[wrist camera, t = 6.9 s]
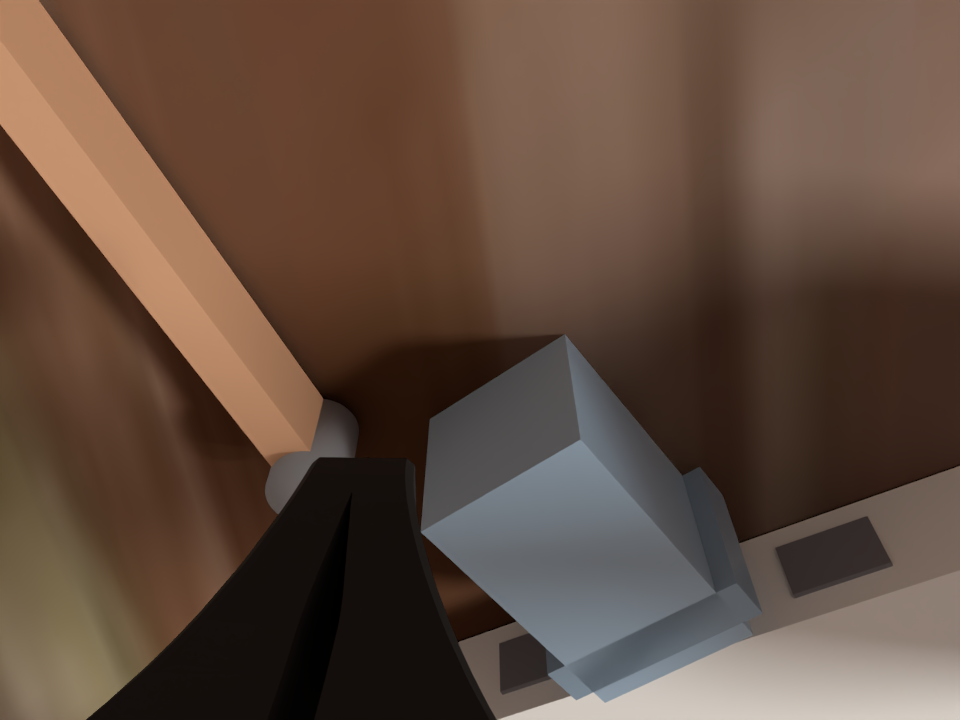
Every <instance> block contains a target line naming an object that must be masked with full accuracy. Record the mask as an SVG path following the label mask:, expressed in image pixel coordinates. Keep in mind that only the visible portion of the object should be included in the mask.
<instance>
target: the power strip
mask: <svg viewBox="0 0 960 720" xmlns="http://www.w3.org/2000/svg"><path fill="white" fill-rule="evenodd" d="M739 545H740V548H741V551H742V554H743V557H744V559H745V562H746V565H747V568H748V571H749V574H750V577H751V580H752V583H753V586H754V589H755V592H756V595H757V598H758V601H759V604H760V607H761V610H762V613H763V614H760V615H758V616H756V617H754V618H752V619H750V620H749V623H750V626H751V629H752V632H753V635H752V636H750V637H747V638H745V639H743V640H741V641H739V642H737V643H734V644H732V645H730V646H728V647H726V648H724V649H721V650H719V651H717V652H715V653H713V654H710V655H708V656H706V657H704V658H702V659H700V660H697V661H695V662H693V663H691V664H689V665H686V666H684V667H682V668H680V669H678V670H676V671H673V672H671V673H669V674H667V675H665V676H663V677H660V678H658V679H656V680H654V681H652V682H649V683H647V684H645V685H643V686H641V687H639V688H636V689H634V690H632V691H630V692H628V693H625V694H623V695H621V696H619V697H617V698H615V699H612V700H610V701H608V702H606V703H604V702H603V701H602V700H601V699H600V698H599V697H598V696H597V695H596V694H595V693H594V692H593V693H591V694H589V695H587V696H584V697H582V698H580V699H578V700H575V699H574V698H573V697H572V696H571V695H570V694H568V693H567V692H566V691H565V690H564V689H563V688H562V687H561V686H560V685H559V684H557V683H556V682H555V681H554V680H553V679H552V678H551V677H550V676H549V675H548V674H547V662H546V648H545V647H544V646H543V645H542V644H541V643H540V642H539V641H538V640H537V639H535V638H534V637H533V636H532V635H531V634H530V633H529V632H528V631H527V630H526V629H525V628H524V627H523V626H521V625H520V624H519V623H518V622H514V623H511V624H508V625H505V626H503V627H500V628H497V629H494V630H491V631H488V632H485V633H483V634H480V635H477V636H474V637H471V638H468V639H466V640H463V641H460V642H458V643H459V646H460V648H461V650H462V652H463V655H464V657H465V659H466V661H467V663H468V665H469V667H470V670H471V672H472V674H473V676H474V678H475V680H476V682H477V684H478V686H479V688H480V690H481V692H482V694H483V696H484V697H485V699H486V701H487V703H488V705H489V707H490V709H491V711H492V712H493V714H494V716H495V717H496V719H497V720H960V466H958V467H955V468H952V469H949V470H947V471H944V472H941V473H938V474H935V475H932V476H930V477H927V478H924V479H921V480H918V481H915V482H912V483H910V484H907V485H904V486H901V487H898V488H895V489H893V490H890V491H887V492H884V493H881V494H878V495H875V496H873V497H870V498H867V499H864V500H861V501H858V502H856V503H853V504H850V505H847V506H844V507H841V508H838V509H836V510H833V511H830V512H827V513H824V514H821V515H819V516H816V517H813V518H810V519H807V520H804V521H801V522H799V523H796V524H793V525H790V526H787V527H784V528H782V529H779V530H776V531H773V532H770V533H767V534H764V535H762V536H759V537H756V538H753V539H750V540H747V541H745V542H742V543H739Z"/></svg>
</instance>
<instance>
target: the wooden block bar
mask: <svg viewBox="0 0 960 720" xmlns="http://www.w3.org/2000/svg"><path fill="white" fill-rule="evenodd" d="M0 125H1V126H2V127H3V128H4V130H5V131H6V132H7V133H8V135H9V136H10V137H11V139H12V140H13V141H14V142H15V144H16V145H17V146H18V147H19V149H20V150H21V151H22V152H23V154H24V155H25V156H26V157H27V159H28V160H29V161H30V163H31V164H32V165H33V166H34V168H35V169H36V170H37V171H38V173H39V174H40V175H41V176H42V178H43V179H44V180H45V181H46V183H47V184H48V185H49V186H50V188H51V189H52V190H53V192H54V193H55V194H56V195H57V197H58V198H59V199H60V200H61V202H62V203H63V204H64V205H65V207H66V208H67V209H68V210H69V212H70V213H71V214H72V216H73V217H74V218H75V219H76V221H77V222H78V223H79V224H80V226H81V227H82V228H83V229H84V231H85V232H86V233H87V234H88V236H89V237H90V238H91V240H92V241H93V242H94V243H95V245H96V246H97V247H98V248H99V250H100V251H101V252H102V253H103V255H104V256H105V257H106V258H107V260H108V261H109V262H110V264H111V265H112V266H113V267H114V269H115V270H116V271H117V272H118V274H119V275H120V276H121V277H122V279H123V280H124V281H125V282H126V284H127V285H128V286H129V288H130V289H131V290H132V291H133V293H134V294H135V295H136V296H137V298H138V299H139V300H140V301H141V303H142V304H143V305H144V306H145V308H146V309H147V310H148V312H149V313H150V314H151V315H152V317H153V318H154V319H155V320H156V322H157V323H158V324H159V325H160V327H161V328H162V329H163V330H164V332H165V333H166V334H167V335H168V337H169V338H170V339H171V341H172V342H173V343H174V344H175V346H176V347H177V348H178V349H179V351H180V352H181V353H182V354H183V356H184V357H185V358H186V359H187V361H188V362H189V363H190V365H191V366H192V367H193V368H194V370H195V371H196V372H197V373H198V375H199V376H200V377H201V378H202V380H203V381H204V382H205V383H206V385H207V386H208V387H209V389H210V390H211V391H212V392H213V394H214V395H215V396H216V397H217V399H218V400H219V401H220V402H221V404H222V405H223V406H224V407H225V409H226V410H227V411H228V413H229V414H230V415H231V416H232V418H233V419H234V420H235V421H236V423H237V424H238V425H239V426H240V428H241V429H242V430H243V431H244V433H245V434H246V435H247V437H248V438H249V439H250V440H251V442H252V443H253V444H254V445H255V447H256V448H257V449H258V450H259V452H260V453H261V454H262V455H263V457H264V458H265V459H266V461H267V462H268V463H269V464H270V466H271V469H270V472H269V476H268V479H267V482H266V486H265V495H266V499H267V501H268V503H269V505H270V506H271V508H272V509H273V510H274V511H275V512H276V513H277V514H279V513H280V512H281V510H282V509H283V507H284V506H285V504H286V503H287V502H288V500H289V499H290V497H291V496H292V494H293V493H294V491H295V490H296V488H297V487H298V485H299V483H300V482H301V480H302V479H303V477H304V476H305V474H306V472H307V471H308V469H309V467H310V466H311V464H312V463H313V462H314V461H315V460H317V459H318V458H319V457H347V458H355V453H356V448H357V442H358V437H359V426H358V422H357V420H356V418H355V416H354V415H353V414H352V413H351V412H350V411H349V410H348V409H347V408H346V407H345V406H343V405H341V404H339V403H337V402H335V401H332V400H327V399H323V397H322V396H321V395H320V393H319V392H318V390H317V389H316V388H315V386H314V385H313V383H312V382H311V381H310V379H309V378H308V377H307V375H306V374H305V372H304V371H303V370H302V368H301V367H300V365H299V364H298V363H297V361H296V360H295V358H294V357H293V356H292V354H291V353H290V351H289V350H288V349H287V347H286V346H285V344H284V343H283V342H282V340H281V339H280V337H279V336H278V335H277V333H276V332H275V330H274V329H273V328H272V326H271V325H270V323H269V322H268V321H267V319H266V318H265V316H264V315H263V314H262V312H261V311H260V309H259V308H258V307H257V305H256V304H255V302H254V301H253V300H252V298H251V297H250V295H249V294H248V293H247V291H246V290H245V288H244V287H243V286H242V284H241V283H240V281H239V280H238V279H237V277H236V276H235V274H234V273H233V272H232V270H231V269H230V267H229V266H228V265H227V263H226V262H225V260H224V259H223V258H222V256H221V255H220V253H219V252H218V251H217V249H216V248H215V246H214V245H213V244H212V242H211V241H210V239H209V238H208V237H207V235H206V234H205V232H204V231H203V230H202V228H201V227H200V225H199V224H198V223H197V221H196V220H195V218H194V217H193V216H192V214H191V213H190V211H189V210H188V209H187V207H186V206H185V204H184V203H183V202H182V200H181V199H180V198H179V196H178V195H177V193H176V192H175V191H174V189H173V188H172V186H171V185H170V184H169V182H168V181H167V179H166V178H165V177H164V175H163V174H162V172H161V171H160V170H159V168H158V167H157V165H156V164H155V163H154V161H153V160H152V158H151V157H150V156H149V154H148V153H147V151H146V150H145V149H144V147H143V146H142V144H141V143H140V142H139V140H138V139H137V137H136V136H135V135H134V133H133V132H132V130H131V129H130V128H129V126H128V125H127V123H126V122H125V121H124V119H123V118H122V116H121V115H120V114H119V112H118V111H117V109H116V108H115V107H114V105H113V104H112V102H111V101H110V100H109V98H108V97H107V95H106V94H105V93H104V91H103V90H102V88H101V87H100V86H99V84H98V83H97V81H96V80H95V79H94V77H93V76H92V74H91V73H90V72H89V70H88V69H87V67H86V66H85V65H84V63H83V62H82V60H81V59H80V58H79V56H78V55H77V53H76V52H75V51H74V49H73V48H72V46H71V45H70V44H69V42H68V41H67V39H66V38H65V37H64V35H63V34H62V32H61V31H60V30H59V28H58V27H57V25H56V24H55V23H54V21H53V20H52V18H51V17H50V16H49V14H48V13H47V12H46V10H45V9H44V7H43V6H42V5H41V3H40V2H39V0H0Z"/></svg>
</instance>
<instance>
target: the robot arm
mask: <svg viewBox="0 0 960 720" xmlns="http://www.w3.org/2000/svg"><path fill="white" fill-rule="evenodd" d="M86 720H497V719H496V717H495V716H494V714H493V712H492V711H491V709H490V707H489V705H488V703H487V701H486V699H485V697H484V696H483V694H482V692H481V690H480V688H479V686H478V684H477V682H476V680H475V678H474V676H473V674H472V672H471V670H470V667H469V665H468V663H467V661H466V659H465V657H464V655H463V652H462V650H461V648H460V646H459V643H458V641H457V639H456V636H455V634H454V632H453V629H452V627H451V624H450V622H449V619H448V617H447V614H446V611H445V609H444V606H443V603H442V601H441V598H440V595H439V593H438V590H437V587H436V584H435V581H434V578H433V575H432V571H431V568H430V564H429V561H428V557H427V554H426V550H425V547H424V544H423V540H422V536H421V531H420V527H419V522H418V516H417V511H416V482H415V465H414V464H413V463H412V462H410V461H409V460H408V459H407V458H347V457H319V458H318V459H317V460H315V461H314V462H313V463H312V464H311V466H310V467H309V469H308V471H307V472H306V474H305V476H304V477H303V479H302V480H301V482H300V483H299V485H298V487H297V488H296V490H295V491H294V493H293V494H292V496H291V497H290V499H289V500H288V502H287V503H286V504H285V506H284V507H283V509H282V510H281V512H280V513H279V514H278V516H277V517H276V519H275V520H274V521H273V523H272V524H271V526H270V527H269V528H268V530H267V531H266V532H265V534H264V535H263V536H262V537H261V539H260V540H259V541H258V543H257V544H256V545H255V547H254V548H253V549H252V551H251V552H250V553H249V555H248V556H247V557H246V558H245V560H244V561H243V562H242V564H241V565H240V566H239V567H238V568H237V570H236V571H235V572H234V573H233V574H232V576H231V577H230V578H229V579H228V580H227V581H226V583H225V584H224V585H223V586H222V587H221V588H220V590H219V591H218V592H217V593H216V594H215V595H214V597H213V598H212V599H211V600H210V601H209V602H208V604H207V605H206V606H205V607H204V608H203V609H202V610H201V611H200V613H199V614H198V615H197V616H196V617H195V618H194V619H193V620H192V621H191V622H190V623H189V624H188V625H187V627H186V628H185V629H184V630H183V631H182V632H181V633H180V634H179V635H178V636H177V637H176V638H175V639H174V640H173V641H172V642H171V643H170V644H169V645H168V646H167V647H166V648H165V649H164V650H163V651H162V652H161V653H160V654H159V655H158V656H157V657H156V658H155V659H154V660H153V661H152V662H151V663H150V664H149V665H147V666H146V667H145V668H144V669H143V670H142V671H141V672H140V673H139V674H138V675H137V676H135V677H134V678H133V679H132V680H131V681H130V682H129V683H128V684H127V685H125V686H124V687H123V688H122V689H121V690H120V691H119V692H118V693H117V694H115V695H114V696H113V697H112V698H111V699H110V700H109V701H108V702H106V703H105V704H104V705H103V706H102V707H101V708H99V709H98V710H97V711H96V712H95V713H93V714H92V715H91V716H90V717H89V718H87V719H86Z"/></svg>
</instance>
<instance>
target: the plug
mask: <svg viewBox="0 0 960 720" xmlns="http://www.w3.org/2000/svg"><path fill="white" fill-rule="evenodd" d="M421 533H422V534H423V535H424V536H425V537H427V538H428V539H429V540H430V541H431V542H432V543H433V544H434V545H435V546H436V547H437V548H438V549H439V550H441V551H442V552H443V553H444V554H445V555H446V556H447V557H448V558H449V559H450V560H451V561H452V562H454V563H455V564H456V565H457V566H458V567H459V568H460V569H461V570H462V571H463V572H464V573H465V574H466V575H468V576H469V577H470V578H471V579H472V580H473V581H474V582H475V583H476V584H477V585H478V586H479V587H480V588H482V589H483V590H484V591H485V592H486V593H487V594H488V595H489V596H490V597H491V598H492V599H493V600H494V601H496V602H497V603H498V604H499V605H500V606H501V607H502V608H503V609H504V610H505V611H506V612H507V613H509V614H510V615H511V616H512V617H513V618H514V619H515V620H516V621H517V622H518V623H519V624H520V625H521V626H523V627H524V628H525V629H526V630H527V631H528V632H529V633H530V634H531V635H532V636H533V637H534V638H535V639H537V640H538V641H539V642H540V643H541V644H542V645H543V646H544V647H545V648H546V662H547V674H548V675H549V676H550V677H551V678H552V679H553V680H554V681H555V682H556V683H557V684H559V685H560V686H561V687H562V688H563V689H564V690H565V691H566V692H567V693H568V694H570V695H571V696H572V697H573V698H574V699H575V700H578V699H580V698H582V697H584V696H587V695H589V694H591V693H593V692H594V693H595V694H596V695H597V696H598V697H599V698H600V699H601V700H602V701H603V702H604V703H606V702H608V701H610V700H612V699H615V698H617V697H619V696H621V695H623V694H625V693H628V692H630V691H632V690H634V689H636V688H639V687H641V686H643V685H645V684H647V683H649V682H652V681H654V680H656V679H658V678H660V677H663V676H665V675H667V674H669V673H671V672H673V671H676V670H678V669H680V668H682V667H684V666H686V665H689V664H691V663H693V662H695V661H697V660H700V659H702V658H704V657H706V656H708V655H710V654H713V653H715V652H717V651H719V650H721V649H724V648H726V647H728V646H730V645H732V644H734V643H737V642H739V641H741V640H743V639H745V638H747V637H750V636H752V635H753V632H752V629H751V626H750V623H749V620H750V619H752V618H754V617H756V616H758V615H760V614H763V613H762V610H761V607H760V604H759V601H758V598H757V595H756V592H755V589H754V586H753V583H752V580H751V577H750V574H749V571H748V568H747V565H746V562H745V559H744V557H743V554H742V551H741V548H740V545H739V542H738V539H737V536H736V533H735V530H734V527H733V524H732V521H731V518H730V515H729V512H728V509H727V506H726V503H725V500H724V497H723V495H722V494H721V492H720V491H719V490H718V489H717V487H716V486H715V485H714V484H713V482H712V481H711V480H710V479H709V478H708V476H707V475H706V474H705V473H704V471H703V470H702V469H701V468H700V467H698V468H696V469H694V470H692V471H690V472H688V473H687V474H685V475H683V476H682V475H681V473H680V472H679V471H678V470H677V469H676V467H675V466H674V465H673V464H672V463H671V461H670V460H669V459H668V458H667V457H666V455H665V454H664V453H663V452H662V451H661V449H660V448H659V447H658V446H657V445H656V443H655V442H654V441H653V440H652V439H651V437H650V436H649V435H648V434H647V433H646V431H645V430H644V429H643V428H642V426H641V425H640V424H639V423H638V422H637V420H636V419H635V418H634V417H633V416H632V414H631V413H630V412H629V411H628V410H627V408H626V407H625V406H624V405H623V404H622V402H621V401H620V400H619V399H618V398H617V396H616V395H615V394H614V393H613V392H612V390H611V389H610V388H609V387H608V386H607V384H606V383H605V382H604V381H603V380H602V378H601V377H600V376H599V375H598V374H597V372H596V371H595V370H594V369H593V367H592V366H591V365H590V364H589V363H588V361H587V360H586V359H585V358H584V357H583V355H582V354H581V353H580V352H579V351H578V349H577V348H576V347H575V346H574V345H573V343H572V342H571V341H570V340H569V339H568V337H567V336H566V335H565V334H564V335H563V336H561V337H559V338H558V339H556V340H555V341H553V342H551V343H550V344H548V345H547V346H545V347H544V348H542V349H540V350H539V351H537V352H536V353H534V354H532V355H531V356H529V357H528V358H526V359H524V360H523V361H521V362H520V363H518V364H517V365H515V366H513V367H512V368H510V369H509V370H507V371H505V372H504V373H502V374H501V375H499V376H497V377H496V378H494V379H493V380H491V381H490V382H488V383H486V384H485V385H483V386H482V387H480V388H478V389H477V390H475V391H474V392H472V393H471V394H469V395H467V396H466V397H464V398H463V399H461V400H459V401H458V402H456V403H455V404H453V405H451V406H450V407H448V408H447V409H445V410H444V411H442V412H440V413H439V414H437V415H436V416H434V417H432V418H431V419H430V423H429V435H428V447H427V460H426V472H425V484H424V497H423V509H422V521H421Z"/></svg>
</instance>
